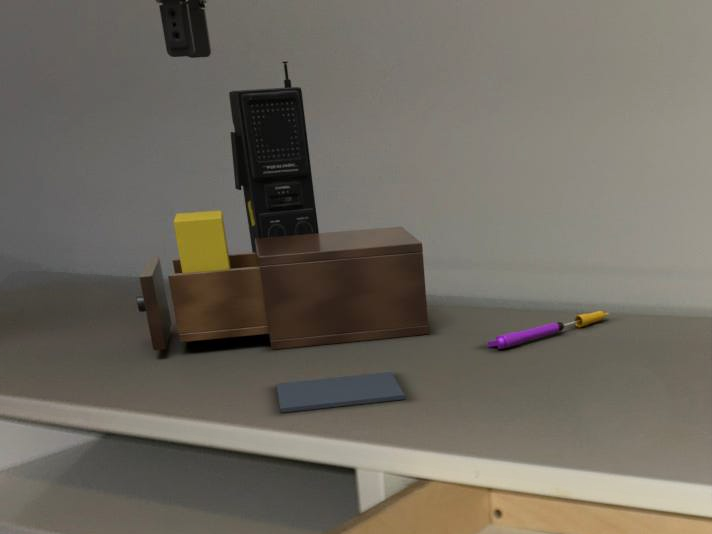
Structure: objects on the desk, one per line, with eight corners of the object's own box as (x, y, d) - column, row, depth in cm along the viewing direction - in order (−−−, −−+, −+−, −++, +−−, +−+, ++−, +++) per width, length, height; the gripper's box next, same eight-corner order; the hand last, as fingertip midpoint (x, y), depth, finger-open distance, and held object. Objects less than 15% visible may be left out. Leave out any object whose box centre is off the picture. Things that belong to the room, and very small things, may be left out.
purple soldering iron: (503, 349, 99) (612, 319, 109) (501, 336, 99) (609, 307, 108) (484, 352, 101) (592, 322, 111) (481, 339, 100) (590, 310, 110)
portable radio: (263, 321, 118) (226, 64, 106) (250, 312, 123) (212, 65, 111) (331, 311, 121) (302, 60, 109) (315, 303, 125) (286, 61, 114)
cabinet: (271, 349, 105) (258, 256, 101) (266, 322, 117) (254, 238, 113) (428, 334, 107) (422, 242, 103) (408, 309, 119) (401, 226, 115)
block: (192, 328, 106) (173, 221, 101) (194, 315, 112) (176, 213, 107) (238, 324, 106) (221, 217, 102) (237, 311, 113) (221, 210, 108)
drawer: (140, 351, 103) (125, 277, 100) (148, 326, 114) (135, 258, 111) (304, 335, 106) (294, 263, 102) (296, 312, 116) (288, 245, 113)
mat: (281, 412, 85) (280, 408, 85) (276, 388, 92) (276, 383, 92) (405, 399, 86) (404, 394, 86) (391, 376, 93) (391, 371, 93)
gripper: (127, -157, 91) (163, 60, 98) (82, -194, 78) (128, 58, 86) (215, -161, 91) (245, 55, 99) (185, -199, 78) (222, 53, 86)
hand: (190, 57), depth 92 cm, fingers open, 8 cm apart
